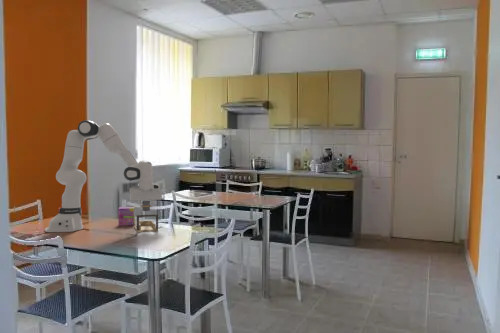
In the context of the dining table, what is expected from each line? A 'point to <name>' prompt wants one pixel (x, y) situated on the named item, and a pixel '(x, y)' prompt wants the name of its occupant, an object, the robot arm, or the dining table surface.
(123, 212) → the box
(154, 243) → the dining table surface
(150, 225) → the wooden tray with handle
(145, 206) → the gray domed cylinder
